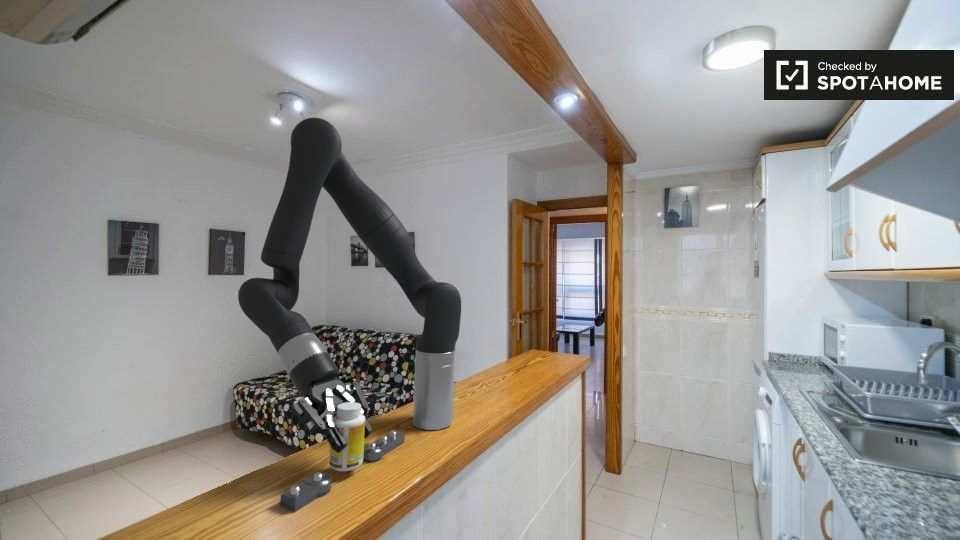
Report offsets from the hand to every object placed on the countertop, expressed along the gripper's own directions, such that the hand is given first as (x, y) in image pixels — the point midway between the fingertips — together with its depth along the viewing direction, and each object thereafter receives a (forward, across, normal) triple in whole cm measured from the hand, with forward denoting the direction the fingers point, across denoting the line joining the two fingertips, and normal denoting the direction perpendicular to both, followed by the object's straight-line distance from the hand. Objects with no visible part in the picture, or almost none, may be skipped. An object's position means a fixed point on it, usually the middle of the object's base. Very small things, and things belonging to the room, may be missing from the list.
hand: (355, 442), depth 67 cm
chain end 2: (+3, +10, +5) cm, 11 cm away
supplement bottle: (+2, 0, +4) cm, 5 cm away
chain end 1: (+3, -9, +5) cm, 11 cm away
